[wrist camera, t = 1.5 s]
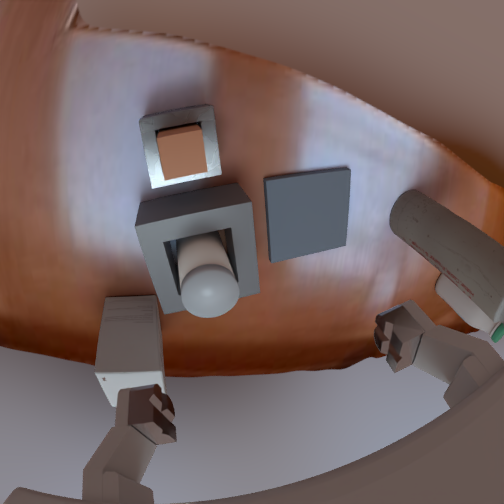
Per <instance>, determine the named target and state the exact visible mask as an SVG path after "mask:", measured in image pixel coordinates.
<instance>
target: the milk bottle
mask: <svg viewBox="0 0 504 504" xmlns="http://www.w3.org/2000/svg"><path fill="white" fill-rule="evenodd" d="M435 290H436V293H437V294H438V295H439V296H440V297H441V298H442V299H443V300H444V301H445V302H446V303H447V304H448V305H449V306H450V307H451V308H452V309H453V310H454V311H455V312H456V313H457V314H458V315H459V316H460V317H461V318H462V319H463V320H464V321H465V322H466V323H468V324H469V325H470V326H472V327H474V328H477V329H480V330H483V331H485V332H486V333H488V334H489V337H490V338H491V339H492V340H493V341H494V342H495V343H496V342H498V341H499V340H500V339H501V338H502V336H503V335H504V324H503V323H502V322H501V321H499V322H497V323H494V322H493V321H492V320H491V319H490V318H489V317H488V316H487V315H486V314H485V313H484V312H483V311H482V310H481V309H480V308H479V307H478V306H477V305H476V304H475V303H474V302H473V301H472V300H471V299H470V298H469V297H468V296H467V295H466V294H465V293H463V292H462V291H461V290H460V289H459V288H458V287H457V286H456V285H455V284H454V283H453V282H452V281H450V280H449V279H448V278H447V277H446V276H445V275H444V274H443V273H442V274H441V275H440V276H439V278H438V280H437V282H436V285H435Z"/></svg>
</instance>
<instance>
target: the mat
mask: <svg viewBox="0 0 504 504" xmlns="http://www.w3.org/2000/svg"><path fill="white" fill-rule="evenodd" d="M350 178H351V170H350V169H349V168H347V167H346V168H337V169H328V170H320V171H312V172H304V173H297V174H290V175H283V176H276V177H269V178H263V179H264V193H265V206H266V221H267V236H268V251H269V260H270V262H271V263H274V262H279V261H283V260H287V259H291V258H296V257H300V256H304V255H308V254H313V253H317V252H321V251H325V250H329V249H334V248H338V247H342V246H346V237H347V225H348V212H349V197H350Z"/></svg>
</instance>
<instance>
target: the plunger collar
mask: <svg viewBox="0 0 504 504" xmlns="http://www.w3.org/2000/svg"><path fill="white" fill-rule="evenodd" d="M193 122H197V125H198V126H199V127H200V128H201V129H202V134H203V141H204V148H205V155H206V162H207V169H208V172H205V173H200V174H194V175H189V176H184V177H180V178H175V179H170V180H166V181H165V180H164V175H163V170H162V165H161V160H160V154H159V149H158V143H157V136H158V133H159V132H158V129H162V128H167V127H171V126H176V125H182V124H187V123H193ZM139 125H140V130H141V136H142V141H143V147H144V152H145V157H146V162H147V167H148V171H149V176H150V181H151V185H152V189H154V188H158V187H162V186H167V185H172V184H176V183H181V182H186V181H191V180H196V179H201V178H206V177H211V176H217V175H222V173H221V165H220V158H219V150H218V142H217V134H216V125H215V117H214V109H213V106H212V105H208V104H204V105H198V106H192V107H186V108H180V109H175V110H170V111H165V112H160V113H155V114H151V115H147V116H143V117H142V118H141V119H139Z"/></svg>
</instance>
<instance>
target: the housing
mask: <svg viewBox="0 0 504 504" xmlns="http://www.w3.org/2000/svg"><path fill="white" fill-rule="evenodd" d="M135 229H136V233H137V236H138V239H139V242H140V246H141V249H142V252H143V255H144V258H145V261H146V264H147V267H148V270H149V273H150V276H151V279H152V282H153V285H154V287H155V290H156V293H157V296H158V298H159V301H160V304H161V307H162V309H163V312H164V314H169V313H174V312H179V311H183V310H187V309H186V308H185V307H184V305H183V303H182V297H181V288H180V279H179V269H178V264H177V265H176V264H175V260H174V256H173V253H172V249H171V245H170V240H175V239H179V238H184V237H189V236H193V235H198V234H203V233H207V232H212V231H217V230H222V229H224V231H225V237H226V244H227V251H228V254H227V257H228V260H229V263H230V265H231V268H232V271H233V273H234V276H235V279H236V281H237V284H238V287H239V298H241V297H245V296H249V295H253V294H257V293H260V287H259V276H258V265H257V254H256V243H255V232H254V221H253V210H252V202H251V200H250V199H249V198H248V196H247V195H246V193H245V192H244V191H243V189H242V188H241V187H240V185H239V184H238V183H233V184H228V185H222V186H217V187H212V188H206V189H201V190H196V191H191V192H187V193H182V194H177V195H173V196H168V197H163V198H159V199H155V200H150V201H146V202H142V203H140V205H139V209H138V214H137V218H136V223H135Z"/></svg>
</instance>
